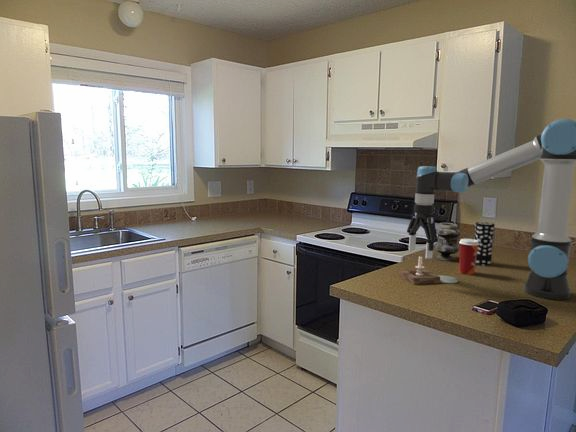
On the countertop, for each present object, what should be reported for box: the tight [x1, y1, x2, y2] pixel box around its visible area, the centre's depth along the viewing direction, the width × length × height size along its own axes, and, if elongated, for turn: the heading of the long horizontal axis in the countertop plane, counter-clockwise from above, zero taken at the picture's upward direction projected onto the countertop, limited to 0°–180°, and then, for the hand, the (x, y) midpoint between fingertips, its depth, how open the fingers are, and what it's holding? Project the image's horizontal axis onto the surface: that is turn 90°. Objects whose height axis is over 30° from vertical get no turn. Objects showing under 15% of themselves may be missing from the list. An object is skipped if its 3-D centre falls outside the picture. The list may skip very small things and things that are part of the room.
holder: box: [399, 268, 441, 285], centre depth 176 cm, size 12×12×2 cm
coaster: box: [438, 275, 459, 284], centre depth 176 cm, size 9×9×1 cm
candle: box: [415, 255, 426, 276], centre depth 175 cm, size 5×5×10 cm
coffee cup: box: [458, 238, 479, 276], centre depth 186 cm, size 8×8×15 cm
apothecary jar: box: [433, 222, 461, 262], centre depth 211 cm, size 12×12×18 cm
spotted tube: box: [473, 221, 496, 267], centre depth 202 cm, size 8×8×20 cm
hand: (419, 254), depth 175 cm, fingers open, 13 cm apart
